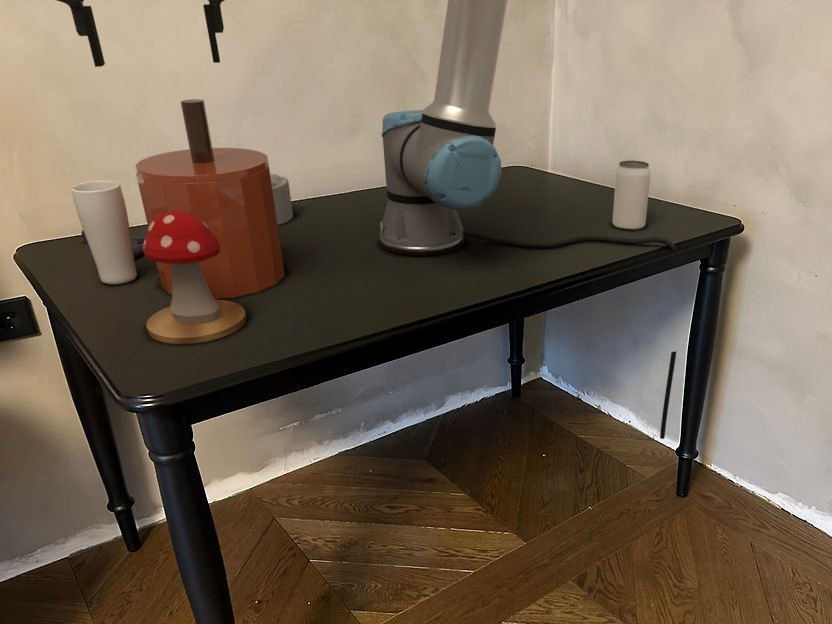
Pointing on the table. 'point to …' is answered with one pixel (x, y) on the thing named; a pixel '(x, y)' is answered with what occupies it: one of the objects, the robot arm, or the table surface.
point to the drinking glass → (106, 229)
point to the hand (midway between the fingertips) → (159, 63)
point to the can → (631, 195)
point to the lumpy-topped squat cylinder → (282, 198)
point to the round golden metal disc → (196, 325)
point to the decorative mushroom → (184, 263)
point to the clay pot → (218, 206)
